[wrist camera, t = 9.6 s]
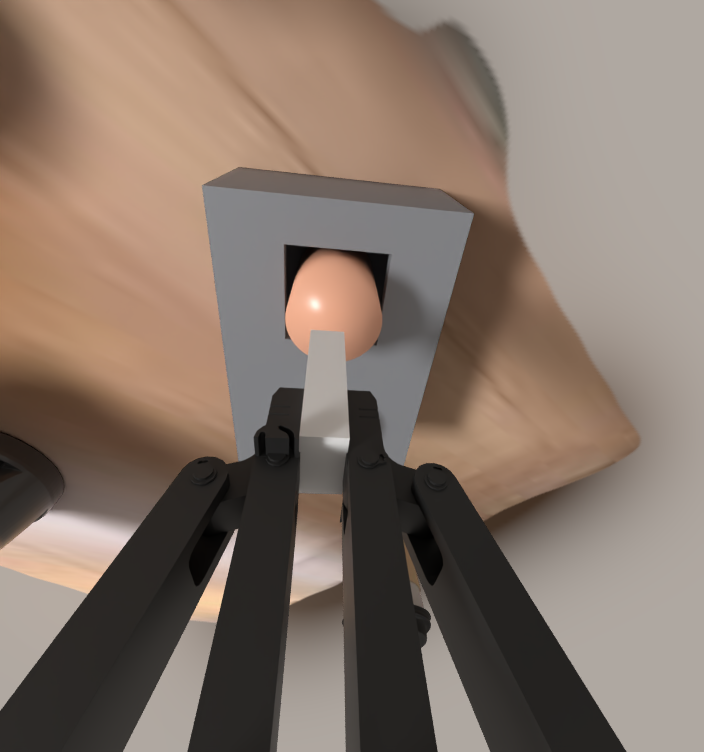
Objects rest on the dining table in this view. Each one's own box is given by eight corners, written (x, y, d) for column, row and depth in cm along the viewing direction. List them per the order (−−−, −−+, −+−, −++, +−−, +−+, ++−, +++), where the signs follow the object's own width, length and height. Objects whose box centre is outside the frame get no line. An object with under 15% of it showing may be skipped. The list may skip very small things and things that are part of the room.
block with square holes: (391, 410, 37) (401, 470, 31) (256, 402, 36) (238, 464, 30) (439, 188, 25) (473, 213, 19) (238, 167, 24) (202, 185, 18)
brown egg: (367, 312, 26) (375, 365, 21) (297, 306, 26) (285, 359, 20) (377, 240, 23) (389, 279, 18) (298, 232, 23) (284, 270, 17)
